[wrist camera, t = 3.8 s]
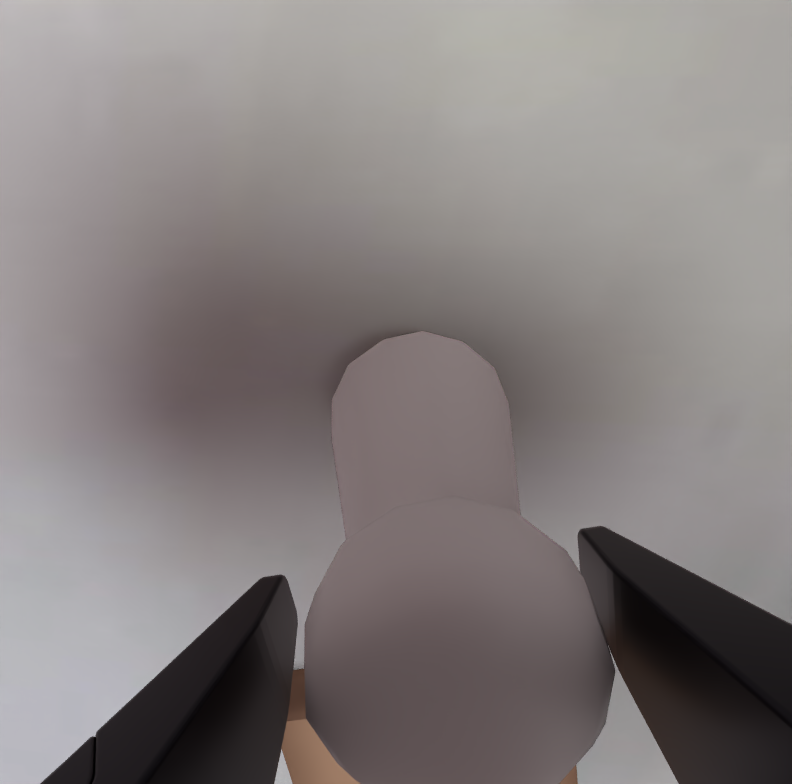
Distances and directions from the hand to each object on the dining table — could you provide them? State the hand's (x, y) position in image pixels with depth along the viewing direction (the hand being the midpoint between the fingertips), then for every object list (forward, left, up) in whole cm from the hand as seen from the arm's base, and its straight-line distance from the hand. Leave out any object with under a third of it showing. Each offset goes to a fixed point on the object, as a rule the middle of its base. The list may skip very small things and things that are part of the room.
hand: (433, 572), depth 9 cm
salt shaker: (0, 0, -10) cm, 10 cm away
